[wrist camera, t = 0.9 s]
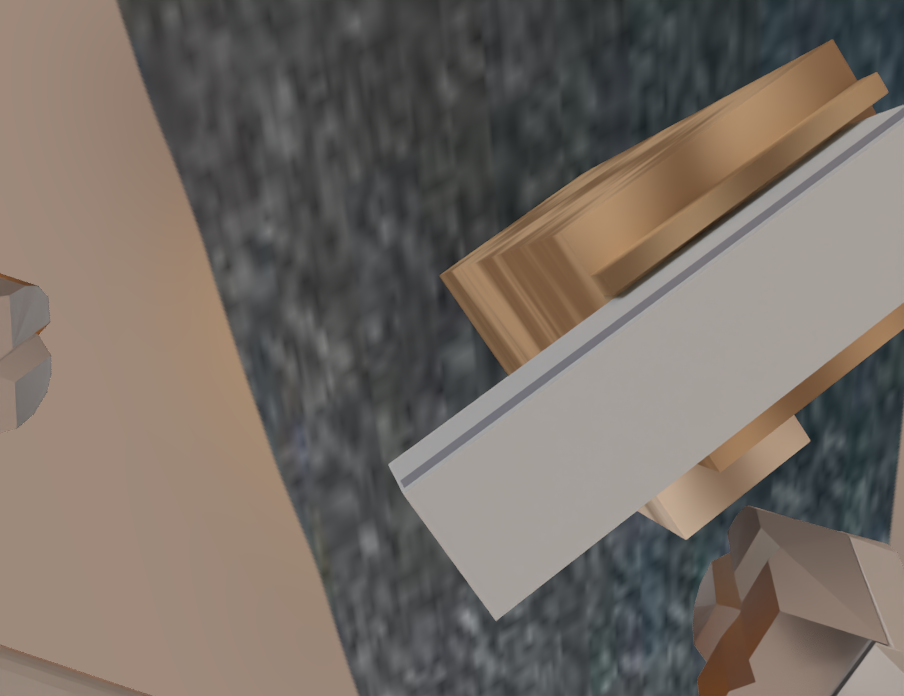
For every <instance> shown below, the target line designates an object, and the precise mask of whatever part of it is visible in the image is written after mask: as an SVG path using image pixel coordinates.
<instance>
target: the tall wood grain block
mask: <svg viewBox="0 0 904 696" xmlns="http://www.w3.org/2000/svg"><path fill="white" fill-rule="evenodd" d="M887 93H888V90H887V88H886V87H885V85H884V83H883V81H882V80H881V78H880V76H879V75H878V73H877V72H876V73H874V74H872V75H869V76H867V77H865V78H863V79H860V80H858V81H857V80H856V78H855V76H854V75H853V73H852V71H851V70H850V68H849V66H848V64H847V63H846V61H845V59H844V58H843V56H842V54H841V52H840V51H839V49H838V47H837V46H836V44H835V42H834V41H833V39H832V40H830V41H828V42H826V43H825V44H823V45H821V46H819V47H817V48H815V49H813V50H812V51H810V52H808V53H806V54H804V55H802V56H800V57H799V58H797V59H795V60H793V61H791V62H789V63H787V64H786V65H784V66H782V67H780V68H778V69H776V70H774V71H773V72H771V73H769V74H767V75H765V76H763V77H761V78H760V79H758V80H756V81H754V82H752V83H750V84H748V85H747V86H745V87H743V88H741V89H739V90H737V91H735V92H734V93H732V94H730V95H728V96H726V97H724V98H722V99H721V100H719V101H717V102H715V103H713V104H711V105H709V106H708V107H706V108H704V109H702V110H700V111H698V112H696V113H695V114H693V115H691V116H689V117H687V118H685V119H683V120H682V121H680V122H678V123H676V124H674V125H672V126H670V127H669V128H667V129H665V130H663V131H661V132H659V133H657V134H656V135H654V136H652V137H650V138H648V139H646V140H644V141H643V142H641V143H639V144H637V145H635V146H633V147H631V148H629V149H628V150H626V151H624V152H622V153H620V154H618V155H616V156H615V157H613V158H611V159H609V160H607V161H605V162H603V163H602V164H600V165H598V166H596V167H594V168H592V169H590V170H589V171H587V172H585V173H583V174H582V175H580V176H579V177H577V178H576V179H575V180H573V181H572V182H570V183H569V184H567V185H566V186H565V187H563V188H562V189H560V190H559V191H558V192H556V193H555V194H553V195H552V196H551V197H549V198H548V199H546V200H545V201H543V202H542V203H541V204H539V205H538V206H536V207H535V208H534V209H532V210H531V211H529V212H528V213H527V214H525V215H524V216H522V217H521V218H519V219H518V220H517V221H515V222H514V223H512V224H511V225H510V226H508V227H507V228H505V229H504V230H503V231H501V232H500V233H498V234H497V235H495V236H494V237H493V238H491V239H490V240H488V241H487V242H486V243H484V244H483V245H481V246H480V247H479V248H477V249H476V250H474V251H473V252H471V253H470V254H469V255H467V256H466V257H464V258H463V259H462V260H460V261H459V262H457V263H456V264H455V265H453V266H452V267H450V268H449V269H447V270H446V271H445V272H443V273H442V274H440V275H439V276H440V278H441V279H442V281H443V282H444V284H445V285H446V286H447V288H448V289H449V291H450V292H451V294H452V295H453V297H454V298H455V299H456V301H457V302H458V304H459V305H460V307H461V308H462V310H463V311H464V312H465V314H466V315H467V317H468V318H469V320H470V321H471V323H472V324H473V325H474V327H475V328H476V330H477V331H478V333H479V334H480V336H481V337H482V338H483V340H484V341H485V343H486V344H487V346H488V347H489V349H490V350H491V351H492V353H493V354H494V356H495V357H496V359H497V360H498V362H499V363H500V364H501V366H502V367H503V369H504V370H505V372H506V373H507V375H508V376H509V375H511V374H512V373H513V372H515V371H516V370H517V369H519V368H520V367H521V366H523V365H524V364H525V363H527V362H528V361H530V360H531V359H532V358H534V357H535V356H536V355H538V354H539V353H540V352H542V351H543V350H544V349H546V348H547V347H549V346H550V345H551V344H553V343H554V342H555V341H557V340H558V339H559V338H561V337H562V336H563V335H565V334H566V333H568V332H569V331H570V330H572V329H573V328H574V327H576V326H577V325H578V324H580V323H581V322H582V321H584V320H585V319H587V318H588V317H589V316H591V315H592V314H593V313H595V312H596V311H597V310H599V309H600V308H601V307H603V306H604V305H606V304H607V303H608V302H610V301H611V300H612V299H614V298H615V297H616V296H618V295H619V294H621V293H622V292H623V291H625V290H626V289H627V288H629V287H630V286H631V285H633V284H634V283H635V282H637V281H638V280H640V279H641V278H642V277H644V276H645V275H646V274H648V273H649V272H650V271H652V270H653V269H654V268H656V267H657V266H659V265H660V264H661V263H663V262H664V261H665V260H667V259H668V258H669V257H671V256H672V255H673V254H675V253H676V252H678V251H679V250H680V249H682V248H683V247H684V246H686V245H687V244H688V243H690V242H691V241H692V240H694V239H695V238H697V237H698V236H699V235H701V234H702V233H703V232H705V231H706V230H707V229H709V228H710V227H711V226H713V225H714V224H716V223H717V222H718V221H720V220H721V219H722V218H724V217H725V216H726V215H728V214H729V213H731V212H732V211H733V210H735V209H736V208H737V207H739V206H740V205H741V204H743V203H744V202H745V201H747V200H748V199H750V198H751V197H752V196H754V195H755V194H756V193H758V192H759V191H760V190H762V189H763V188H764V187H766V186H767V185H769V184H770V183H771V182H773V181H774V180H775V179H777V178H778V177H779V176H781V175H782V174H783V173H785V172H786V171H788V170H789V169H790V168H792V167H793V166H794V165H796V164H797V163H798V162H800V161H801V160H802V159H804V158H805V157H807V156H808V155H809V154H811V153H812V152H813V151H815V150H816V149H817V148H819V147H820V146H821V145H823V144H824V143H826V142H827V141H828V140H830V139H831V138H832V137H834V136H835V135H836V134H838V133H839V132H840V131H842V130H843V129H845V128H846V127H847V126H849V125H850V124H852V123H855V122H857V121H860V120H863V119H866V118H869V117H871V116H874V115H877V114H876V112H875V110H874V109H873V107H872V104H874V103H875V102H876V101H878V100H879V99H880V98H882V97H883V96H884V95H886V94H887ZM902 329H904V303H902V304H901V305H900V306H899V307H897V308H896V309H895V310H893V311H892V312H891V313H890V314H888V315H887V316H886V317H884V318H883V319H882V320H881V321H879V322H878V323H877V324H875V325H874V326H873V327H872V328H870V329H869V330H868V331H867V332H865V333H864V334H863V335H861V336H860V337H859V338H858V339H856V340H855V341H854V342H852V343H851V344H850V345H849V346H847V347H846V348H845V349H843V350H842V351H841V352H840V353H838V354H837V355H836V356H834V357H833V358H832V359H831V360H829V361H828V362H827V363H826V364H824V365H823V366H822V367H820V368H819V369H818V370H817V371H815V372H814V373H813V374H811V375H810V376H809V377H808V378H806V379H805V380H804V381H802V382H801V383H800V384H799V385H797V386H796V387H795V388H794V389H792V390H791V391H790V392H788V393H787V394H786V395H785V396H783V397H782V398H781V399H779V400H778V401H777V402H776V403H774V404H773V405H772V406H770V407H769V408H768V409H767V410H765V411H764V412H763V413H762V414H760V415H759V416H758V417H756V418H755V419H754V420H753V421H751V422H750V423H749V424H747V425H746V426H745V427H744V428H742V429H741V430H740V431H738V432H737V433H736V434H735V435H733V436H732V437H731V438H729V439H728V440H727V441H726V442H724V443H723V444H722V445H721V446H719V447H718V448H717V449H715V450H714V451H713V452H712V453H710V454H709V455H708V456H706V457H705V458H704V459H703V460H701V461H700V462H699V463H697V464H696V465H695V466H694V467H692V468H691V469H690V470H689V471H687V472H686V473H685V474H683V475H682V476H681V477H680V478H678V479H677V480H676V481H674V482H673V483H672V484H671V485H669V486H668V487H667V488H665V489H664V490H663V491H662V492H660V493H659V494H658V495H656V496H655V497H654V498H653V499H651V500H650V501H649V502H648V503H646V504H645V505H644V506H642V507H641V508H640V509H639V510H637V511H638V512H640V513H642V514H643V515H645V516H647V517H648V518H650V519H652V520H653V521H655V522H657V523H658V524H660V525H662V526H664V527H665V528H667V529H669V530H670V531H672V532H674V533H675V534H677V535H679V536H680V537H682V538H684V539H685V540H687V539H688V538H689V537H690V536H692V535H693V534H694V533H695V532H697V531H698V530H699V529H700V528H702V527H703V526H704V525H706V524H707V523H708V522H709V521H711V520H712V519H713V518H714V517H716V516H717V515H718V514H719V513H721V512H722V511H723V510H724V509H726V508H727V507H728V506H729V505H731V504H732V503H733V502H734V501H736V500H737V499H738V498H740V497H741V496H742V495H743V494H745V493H746V492H747V491H748V490H750V489H751V488H752V487H753V486H755V485H756V484H757V483H758V482H760V481H761V480H762V479H763V478H765V477H766V476H767V475H768V474H770V473H771V472H772V471H774V470H775V469H776V468H777V467H779V466H780V465H781V464H782V463H784V462H785V461H786V460H787V459H789V458H790V457H791V456H792V455H794V454H795V453H796V452H797V451H799V450H800V449H801V448H802V447H804V446H805V445H806V444H808V443H809V442H810V439H809V438H808V436H807V434H806V433H805V431H804V430H803V428H802V427H801V425H800V423H799V422H798V420H797V419H796V417H795V416H794V414H796V413H797V412H798V411H799V410H801V409H802V408H803V407H805V406H806V405H807V404H808V403H810V402H811V401H812V400H813V399H815V398H816V397H817V396H819V395H820V394H821V393H822V392H824V391H825V390H826V389H827V388H829V387H830V386H831V385H833V384H834V383H835V382H836V381H838V380H839V379H840V378H841V377H843V376H844V375H845V374H846V373H848V372H849V371H850V370H852V369H853V368H854V367H855V366H857V365H858V364H859V363H860V362H862V361H863V360H864V359H866V358H867V357H868V356H869V355H871V354H872V353H873V352H874V351H876V350H877V349H878V348H880V347H881V346H882V345H883V344H885V343H886V342H887V341H888V340H890V339H891V338H892V337H894V336H895V335H896V334H897V333H899V332H900V331H901V330H902Z"/></svg>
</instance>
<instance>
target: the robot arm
mask: <svg viewBox="0 0 904 696" xmlns="http://www.w3.org/2000/svg"><path fill="white" fill-rule="evenodd" d="M49 323H50V312H49V299H48V296H47V295H46V294H45V293H44V292H43V291H42V289H41V288H40V287H39V286H37V285H34V284H31V283H28V282H24V281H22V280H19V279H15V278H12V277H10V276H6V275H3V274H0V433H3V432H6V431H10V430H13V429H17V428H18V427H19V426H21V425H22V424H23V423H24V422H25V421H26V420H28V419H29V418H30V417H31V416H32V415H33V414H34V413H35V411H36V410H37V408H38V407H39V405H40V403H41V402H42V400H43V398H44V397H45V395H46V393H47V390H48V386H49V381H50V377H51V354H50V353H49V351H48V349H47V348H46V346H45V345H44V343H43V341H42V340H41V338H40V337H39V334H40V333H41V331H42V330H43V329H44V328H45V327H46V326H47V325H48V324H49ZM727 533H728V539H729V545H730V553H728V554H726V555H724V556H722V557H720V558H718V559H716V560H714V561H712V562H711V564H710V566H709V568H708V570H707V572H706V574H705V576H704V578H703V580H702V582H701V584H700V587H699V591H698V595H697V599H696V602H695V606H694V616H693V637H694V645H695V647H696V648H697V649H698V651H699V652H700V654H701V655H702V656H703V658H704V659H705V660H706V662H707V663H706V665H705V667H704V668H703V670H702V672H701V674H700V675H699V677H698V679H697V681H698V691H699V696H904V567H903V565H902V563H901V560H900V558H899V556H898V554H897V552H896V551H895V550H894V549H892V548H891V547H890V546H889V545H888V544H886V543H882V542H878V541H875V540H871V539H867V538H863V537H860V536H856V535H852V534H849V533H845V532H841V531H840V532H839V531H835V530H832V529H828V528H825V527H821V526H818V525H814V524H811V523H807V522H804V521H800V520H797V519H793V518H790V517H787V516H783V515H780V514H776V513H773V512H769V511H766V510H762V509H759V508H755V507H752V506H748V505H746V506H745V507H744V508H743V509H742V510H741V511H740V512H739V513H738V514H737V516H736V518H735V520H734V521H733V523H732V525H731V527H730V528H729V530H728V532H727ZM0 696H151V695H148V694H146V693H142V692H140V691H136V690H134V689H131V688H128V687H125V686H122V685H119V684H116V683H113V682H110V681H107V680H104V679H101V678H98V677H95V676H92V675H89V674H86V673H83V672H80V671H77V670H74V669H71V668H68V667H65V666H63V665H59V664H57V663H54V662H51V661H48V660H45V659H42V658H39V657H36V656H33V655H30V654H27V653H24V652H21V651H18V650H15V649H12V648H9V647H6V646H3V645H0Z"/></svg>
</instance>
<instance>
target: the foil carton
mask: <svg viewBox="0 0 904 696" xmlns="http://www.w3.org/2000/svg"><path fill="white" fill-rule="evenodd" d="M902 303H904V105H902V106H899V107H896V108H893V109H891V110H888V111H885V112H882V113H880V114H877V115H874V116H871V117H869V118H866V119H863V120H860V121H857V122H855V123H852V124H850V125H849V126H847V127H846V128H845V129H843V130H842V131H840V132H839V133H838V134H836V135H835V136H834V137H832V138H831V139H830V140H828V141H827V142H826V143H824V144H823V145H821V146H820V147H819V148H817V149H816V150H815V151H813V152H812V153H811V154H809V155H808V156H807V157H805V158H804V159H802V160H801V161H800V162H798V163H797V164H796V165H794V166H793V167H792V168H790V169H789V170H788V171H786V172H785V173H783V174H782V175H781V176H779V177H778V178H777V179H775V180H774V181H773V182H771V183H770V184H769V185H767V186H766V187H764V188H763V189H762V190H760V191H759V192H758V193H756V194H755V195H754V196H752V197H751V198H750V199H748V200H747V201H745V202H744V203H743V204H741V205H740V206H739V207H737V208H736V209H735V210H733V211H732V212H731V213H729V214H728V215H726V216H725V217H724V218H722V219H721V220H720V221H718V222H717V223H716V224H714V225H713V226H711V227H710V228H709V229H707V230H706V231H705V232H703V233H702V234H701V235H699V236H698V237H697V238H695V239H694V240H692V241H691V242H690V243H688V244H687V245H686V246H684V247H683V248H682V249H680V250H679V251H678V252H676V253H675V254H673V255H672V256H671V257H669V258H668V259H667V260H665V261H664V262H663V263H661V264H660V265H659V266H657V267H656V268H654V269H653V270H652V271H650V272H649V273H648V274H646V275H645V276H644V277H642V278H641V279H640V280H638V281H637V282H635V283H634V284H633V285H631V286H630V287H629V288H627V289H626V290H625V291H623V292H622V293H621V294H619V295H618V296H616V297H615V298H614V299H612V300H611V301H610V302H608V303H607V304H606V305H604V306H603V307H601V308H600V309H599V310H597V311H596V312H595V313H593V314H592V315H591V316H589V317H588V318H587V319H585V320H584V321H582V322H581V323H580V324H578V325H577V326H576V327H574V328H573V329H572V330H570V331H569V332H568V333H566V334H565V335H563V336H562V337H561V338H559V339H558V340H557V341H555V342H554V343H553V344H551V345H550V346H549V347H547V348H546V349H544V350H543V351H542V352H540V353H539V354H538V355H536V356H535V357H534V358H532V359H531V360H530V361H528V362H527V363H525V364H524V365H523V366H521V367H520V368H519V369H517V370H516V371H515V372H513V373H512V374H511V375H509V376H508V377H506V378H505V379H504V380H502V381H501V382H500V383H498V384H497V385H496V386H494V387H493V388H491V389H490V390H489V391H487V392H486V393H485V394H483V395H482V396H481V397H479V398H478V399H477V400H475V401H474V402H472V403H471V404H470V405H468V406H467V407H466V408H464V409H463V410H462V411H460V412H459V413H458V414H456V415H455V416H453V417H452V418H451V419H449V420H448V421H447V422H445V423H444V424H443V425H441V426H440V427H439V428H437V429H436V430H434V431H433V432H432V433H430V434H429V435H428V436H426V437H425V438H424V439H422V440H421V441H420V442H418V443H417V444H415V445H414V446H413V447H411V448H410V449H409V450H407V451H406V452H405V453H403V454H402V455H401V456H399V457H398V458H396V459H395V460H394V461H392V462H391V463H390V464H388V465H389V467H390V469H391V471H392V473H393V475H394V477H395V479H396V481H397V483H398V485H399V487H400V489H401V491H402V492H403V494H404V496H405V497H406V499H407V500H408V501H409V503H410V504H411V505H412V507H413V508H414V509H415V511H416V512H417V514H418V515H419V516H420V518H421V519H422V520H423V522H424V523H425V525H426V526H427V527H428V529H429V530H430V531H431V533H432V534H433V535H434V537H435V538H436V540H437V541H438V542H439V544H440V545H441V546H442V548H443V549H444V551H445V552H446V553H447V555H448V556H449V557H450V559H451V560H452V561H453V563H454V564H455V566H456V567H457V568H458V570H459V571H460V572H461V574H462V575H463V577H464V578H465V579H466V581H467V582H468V583H469V585H470V586H471V587H472V589H473V590H474V592H475V593H476V594H477V596H478V597H479V598H480V600H481V601H482V602H483V604H484V605H485V607H486V608H487V609H488V611H489V612H490V613H491V615H492V616H493V618H494V619H495V620H498V619H499V618H500V617H502V616H503V615H504V614H505V613H507V612H508V611H509V610H511V609H512V608H513V607H514V606H516V605H517V604H518V603H519V602H521V601H522V600H523V599H525V598H526V597H527V596H528V595H530V594H531V593H532V592H534V591H535V590H536V589H537V588H539V587H540V586H541V585H543V584H544V583H545V582H546V581H548V580H549V579H550V578H551V577H553V576H554V575H555V574H557V573H558V572H559V571H560V570H562V569H563V568H564V567H566V566H567V565H568V564H569V563H571V562H572V561H573V560H575V559H576V558H577V557H578V556H580V555H581V554H582V553H584V552H585V551H586V550H587V549H589V548H590V547H591V546H592V545H594V544H595V543H596V542H598V541H599V540H600V539H601V538H603V537H604V536H605V535H607V534H608V533H609V532H610V531H612V530H613V529H614V528H616V527H617V526H618V525H619V524H621V523H622V522H623V521H624V520H626V519H627V518H628V517H630V516H631V515H632V514H633V513H635V512H636V511H637V510H639V509H640V508H641V507H642V506H644V505H645V504H646V503H648V502H649V501H650V500H651V499H653V498H654V497H655V496H656V495H658V494H659V493H660V492H662V491H663V490H664V489H665V488H667V487H668V486H669V485H671V484H672V483H673V482H674V481H676V480H677V479H678V478H680V477H681V476H682V475H683V474H685V473H686V472H687V471H689V470H690V469H691V468H692V467H694V466H695V465H696V464H697V463H699V462H700V461H701V460H703V459H704V458H705V457H706V456H708V455H709V454H710V453H712V452H713V451H714V450H715V449H717V448H718V447H719V446H721V445H722V444H723V443H724V442H726V441H727V440H728V439H729V438H731V437H732V436H733V435H735V434H736V433H737V432H738V431H740V430H741V429H742V428H744V427H745V426H746V425H747V424H749V423H750V422H751V421H753V420H754V419H755V418H756V417H758V416H759V415H760V414H762V413H763V412H764V411H765V410H767V409H768V408H769V407H770V406H772V405H773V404H774V403H776V402H777V401H778V400H779V399H781V398H782V397H783V396H785V395H786V394H787V393H788V392H790V391H791V390H792V389H794V388H795V387H796V386H797V385H799V384H800V383H801V382H802V381H804V380H805V379H806V378H808V377H809V376H810V375H811V374H813V373H814V372H815V371H817V370H818V369H819V368H820V367H822V366H823V365H824V364H826V363H827V362H828V361H829V360H831V359H832V358H833V357H834V356H836V355H837V354H838V353H840V352H841V351H842V350H843V349H845V348H846V347H847V346H849V345H850V344H851V343H852V342H854V341H855V340H856V339H858V338H859V337H860V336H861V335H863V334H864V333H865V332H867V331H868V330H869V329H870V328H872V327H873V326H874V325H875V324H877V323H878V322H879V321H881V320H882V319H883V318H884V317H886V316H887V315H888V314H890V313H891V312H892V311H893V310H895V309H896V308H897V307H899V306H900V305H901V304H902Z"/></svg>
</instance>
